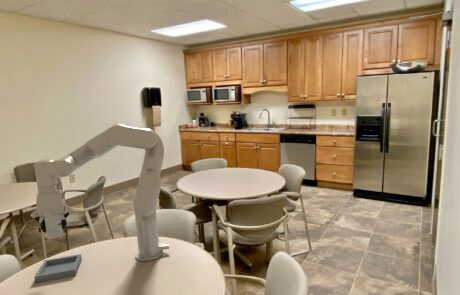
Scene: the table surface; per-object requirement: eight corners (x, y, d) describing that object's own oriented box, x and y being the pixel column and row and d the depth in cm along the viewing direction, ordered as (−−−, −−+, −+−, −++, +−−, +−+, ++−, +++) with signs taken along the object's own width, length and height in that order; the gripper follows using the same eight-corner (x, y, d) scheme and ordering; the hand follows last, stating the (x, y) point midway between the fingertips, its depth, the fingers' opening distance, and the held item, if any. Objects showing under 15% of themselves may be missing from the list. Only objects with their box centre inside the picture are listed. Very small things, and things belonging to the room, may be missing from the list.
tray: (81, 259, 140) (81, 253, 140) (75, 276, 127) (74, 269, 126) (45, 266, 136) (44, 260, 135) (35, 283, 123) (34, 276, 122)
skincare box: (47, 240, 125) (43, 212, 124) (47, 236, 129) (42, 209, 127) (64, 235, 129) (60, 208, 127) (63, 232, 132) (59, 206, 131)
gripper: (73, 184, 132) (78, 222, 134) (28, 189, 127) (34, 229, 130) (69, 188, 125) (74, 229, 127) (21, 194, 120) (28, 236, 123)
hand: (54, 228), depth 128 cm, fingers closed on skincare box, 6 cm apart
